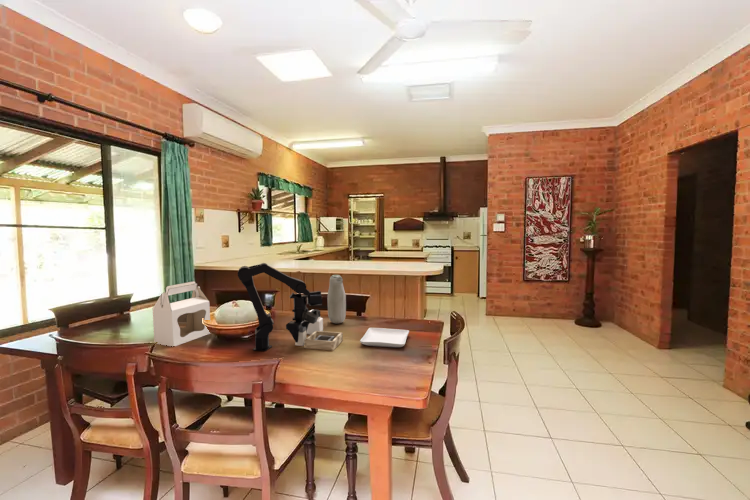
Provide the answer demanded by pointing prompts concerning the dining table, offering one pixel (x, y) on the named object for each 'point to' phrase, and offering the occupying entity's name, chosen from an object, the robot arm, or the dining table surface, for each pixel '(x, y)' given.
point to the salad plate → (385, 337)
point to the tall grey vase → (336, 300)
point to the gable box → (169, 313)
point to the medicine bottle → (315, 324)
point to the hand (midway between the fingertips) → (300, 338)
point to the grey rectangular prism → (301, 337)
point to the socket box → (323, 340)
